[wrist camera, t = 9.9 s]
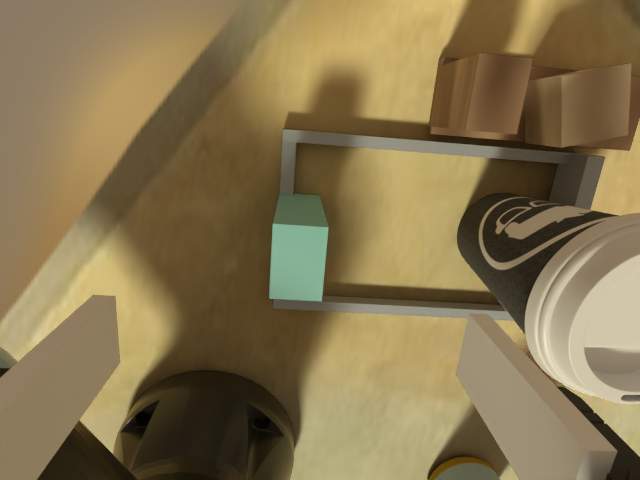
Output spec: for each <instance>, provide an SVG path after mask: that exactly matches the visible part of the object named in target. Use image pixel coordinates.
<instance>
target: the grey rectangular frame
mask: <svg viewBox="0 0 640 480" xmlns="http://www.w3.org/2000/svg"><path fill="white" fill-rule="evenodd" d="M297 142H298V143H311V144H323V145H336V146H348V147H360V148H373V149H385V150H398V151H410V152H422V153H435V154H447V155H460V156H472V157H484V158H497V159H509V160H522V161H534V162H547V163H558V166H557V170H556V174H555V178H554V182H553V186H552V190H551V194H550V198H549V202H553V203H558V204H563V205H568V206H573V207H578V208H582V209H587V210H590V208H591V205H592V201H593V198H594V194H595V191H596V187H597V184H598V180H599V177H600V173H601V170H602V166H603V163H604V159H605V157H602V156H595V155H588V154H581V153H572V152H560V151H548V150H536V149H524V148H512V147H500V146H488V145H476V144H464V143H451V142H439V141H427V140H415V139H403V138H391V137H379V136H367V135H355V134H343V133H331V132H319V131H307V130H295V129H283V134H282V156H281V175H280V194H279V199H278V203H277V207H276V212H275V216H274V221H273V229H272V250H271V270H270V290H269V299H274V303H273V309H290V310H310V311H330V312H350V313H370V314H390V315H410V316H430V317H450V318H468V314H469V313H471V314H488V315H489V316H490V317H491V318H492V319H493V320H510V321H514V319H513V318H512V317H511V316H510V315H509V313H508V312H507V311H506V310H505V308H504V307H503V306H502V305H495V304H476V303H457V302H438V301H420V300H401V299H382V298H363V297H344V296H325V295H322V294H323V283H324V272H325V261H326V250H327V239H328V228H329V227H328V223H327V220H326V216H325V212H324V208H323V205H322V201H321V197H320V195H311V194H297V193H293V191H294V175H295V159H296V144H297Z"/></svg>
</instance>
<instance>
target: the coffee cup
mask: <svg viewBox="0 0 640 480" xmlns="http://www.w3.org/2000/svg"><path fill="white" fill-rule="evenodd" d="M457 243H458V248H459V251H460V253H461V255H462V257H463V258H464V259H465V261H466V262H467V263H468V264H469V266H470V267H471V268H472V269H473V270H474V272H475V273H476V274H477V275H478V277H479V278H480V279H481V280H482V281H483V283H484V284H485V285H486V286H487V288H488V289H489V290H490V291H491V292H492V294H493V295H494V296H495V297H496V299H497V300H498V301H499V302H500V303H501V305H502V306H503V307H504V308H505V310H506V311H507V312H508V313H509V315H510V316H511V317H512V318H513V319H514V321H515V322H516V323H517V324H518V326H519V327H520V328H521V329H522V331H523V332H524V333H525V335H526V340H527V344H528V347H529V350H530V352H531V354H532V356H533V358H534V359H535V361H536V362H537V364H538V365H539V366H540V367H541V369H542V370H543V371H544V372H545V373H547V374H548V375H549V376H550V377H552V378H553V379H555V380H557V381H558V382H560V383H562V384H564V385H565V386H567V387H569V388H571V389H574V390H576V391H579V392H582V393H585V394H588V395H592V396H597V397H600V398H603V399H605V400H608V401H612V402H616V403H622V404H640V213H634V214H627V215H622V216H617V215H612V214H607V213H602V212H597V211H592V210H587V209H582V208H578V207H573V206H568V205H563V204H558V203H553V202H549V201H544V200H539V199H534V198H529V197H525V196H520V195H515V194H510V193H497V194H492V195H489V196H486V197H484V198H482V199H480V200H479V201H477V202H476V203H475V204H474V205H472V206H471V207H470V208H469V209H468V211H467V212H466V213H465V215H464V216H463V218H462V220H461V222H460V225H459V228H458V233H457Z"/></svg>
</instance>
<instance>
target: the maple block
mask: <svg viewBox="0 0 640 480" xmlns="http://www.w3.org/2000/svg"><path fill="white" fill-rule="evenodd" d="M631 67H632V63H629V64H622V65H615V66H609V67H602V68H595V69H588V70H582V71H577V72H572V73H566V74H561V75H556V76H551V77H545V78H540V79H535V80H530V81H528V85H527V89H526V94H525V98H524V101H525V142H526V143H530V144H537V145H545V146H552V147H560V148H563V147H568V146H573V145H578V144H584V143H589V142H594V141H600V140H605V139H610V138H615V137H621V136H626V135H628V125H629V106H630V86H631Z"/></svg>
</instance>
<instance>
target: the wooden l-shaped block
mask: <svg viewBox="0 0 640 480" xmlns="http://www.w3.org/2000/svg"><path fill="white" fill-rule="evenodd" d="M532 62H533V58H525V57H515V56H505V55H495V54H485V53H478V54H475V55H472V56H469V57H466V58H463V59H454V58H444V57H443V58H440V59H439V63H438V69H437V76H436V82H435V88H434V95H433V101H432V108H431V114H430V121H429V127H428V134H438V135H450V136H461V137H473V138H485V139H497V140H509V141H521V142H525V101H524V98H525V94H526V89H527V85H528V81H530V80H535V79H540V78H545V77H551V76H556V75H561V74H566V73H572V72H577V71H576V70H566V69H555V68H545V67H535V66H532ZM639 118H640V77H637V76H631V86H630V106H629V125H628V135H626V136H621V137H615V138H610V139H605V140H600V141H594V142H589V143H584V144H578V145H573V146H580V147H592V148H604V149H616V150H628V151H630V148H631V145H632V141H633V138H634V135H635V131H636V128H637V125H638V121H639Z"/></svg>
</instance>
